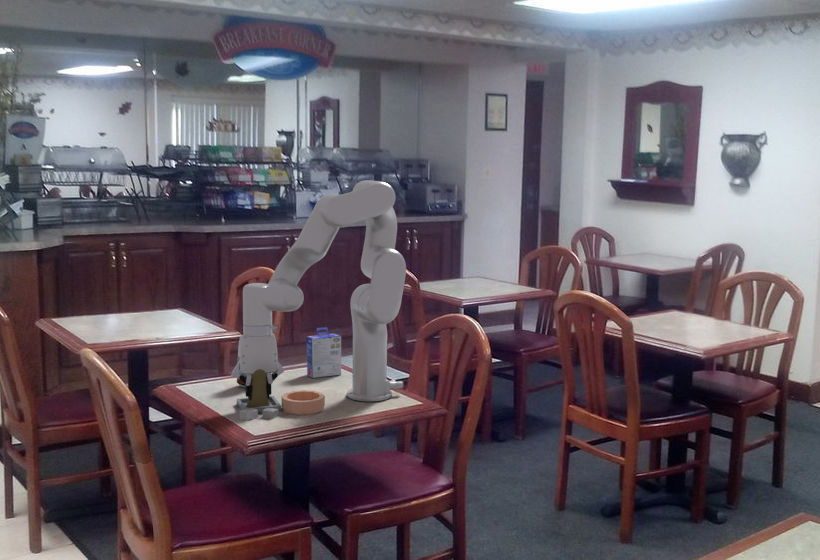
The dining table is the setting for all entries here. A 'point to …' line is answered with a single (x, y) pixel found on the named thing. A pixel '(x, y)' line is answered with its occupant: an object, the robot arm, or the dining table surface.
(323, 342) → the ink cartridge box
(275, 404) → the tray
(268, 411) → the grey block
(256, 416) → the light grey block
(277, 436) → the dining table surface
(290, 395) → the bowl
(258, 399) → the olive pestle
